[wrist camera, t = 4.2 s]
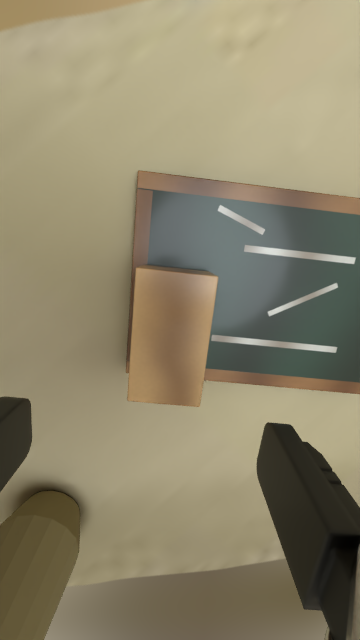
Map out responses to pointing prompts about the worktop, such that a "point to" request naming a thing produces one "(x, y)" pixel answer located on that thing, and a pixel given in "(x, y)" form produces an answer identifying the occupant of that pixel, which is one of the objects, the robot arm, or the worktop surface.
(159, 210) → the chalkboard
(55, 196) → the worktop surface
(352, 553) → the robot arm
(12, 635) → the squeeze bottle
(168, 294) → the eraser
